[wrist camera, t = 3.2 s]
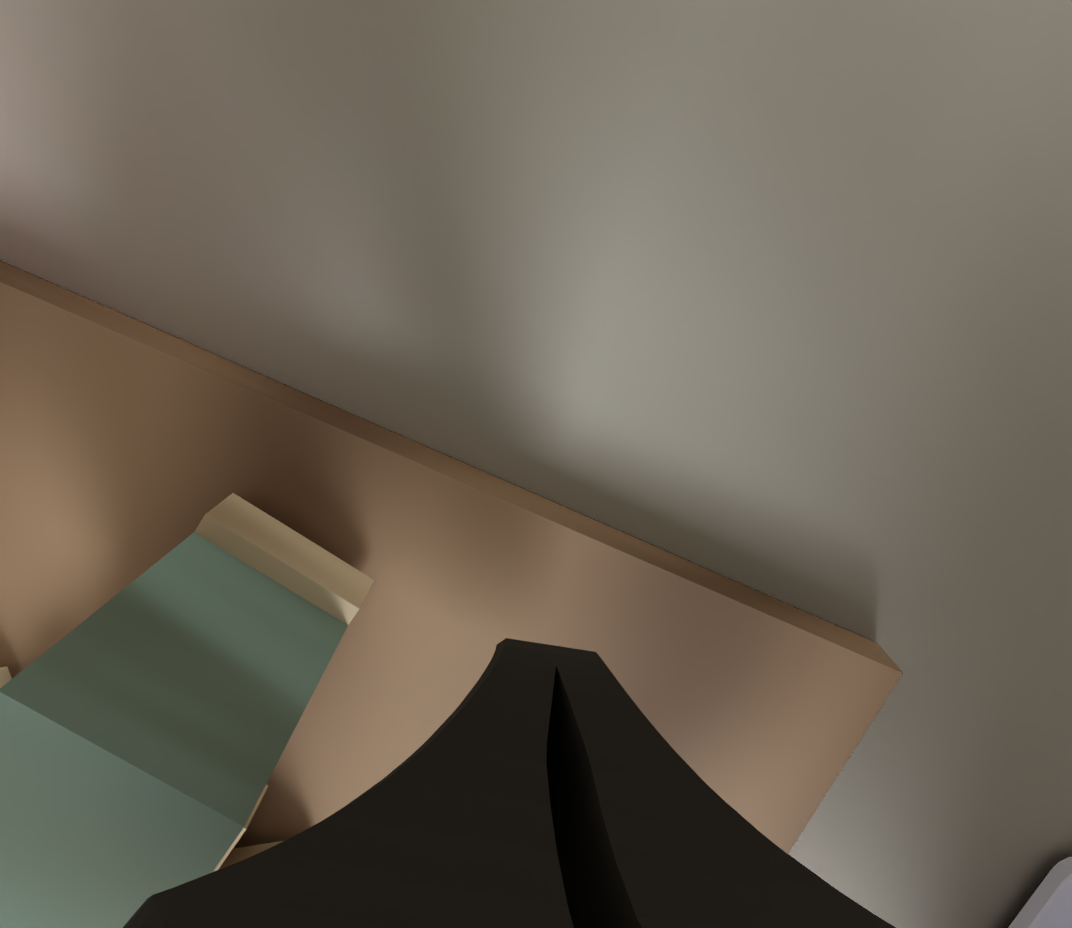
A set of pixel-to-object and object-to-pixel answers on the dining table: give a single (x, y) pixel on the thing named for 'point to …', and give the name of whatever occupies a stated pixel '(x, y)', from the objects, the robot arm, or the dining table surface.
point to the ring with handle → (163, 720)
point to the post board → (391, 569)
